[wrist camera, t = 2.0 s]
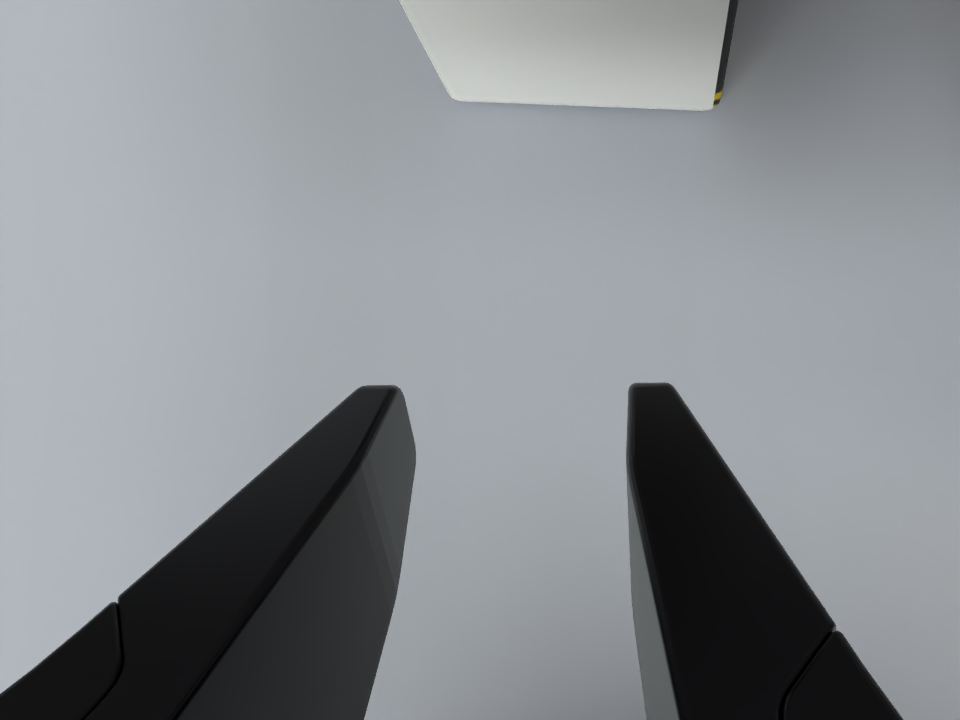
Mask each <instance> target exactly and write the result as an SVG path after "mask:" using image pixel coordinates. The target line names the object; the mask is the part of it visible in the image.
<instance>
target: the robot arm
mask: <svg viewBox="0 0 960 720" xmlns="http://www.w3.org/2000/svg"><path fill="white" fill-rule="evenodd" d="M415 465H416V449H415V442H414V437H413V433H412V429H411V424H410V420H409V416H408V411H407V407H406V402H405V398H404V395H403V393H402V391H401V389H400V388H398V387H397V386H395V385H367V386H362V387H360V388H358V389H357V390H355V391H354V392H353V393H352V394H351V395H350V396H348V397H347V398H346V399H345V400H344V401H343V402H342V403H340V404H339V405H338V406H337V407H336V408H335V409H334V410H332V411H331V412H330V413H329V414H328V415H327V416H325V417H324V418H323V419H322V420H321V421H320V422H319V423H317V424H316V425H315V426H314V427H313V428H312V429H310V430H309V431H308V432H307V433H306V434H305V435H304V436H302V437H301V438H300V439H299V440H298V441H297V442H296V443H294V444H293V445H292V446H291V447H290V448H289V449H287V450H286V451H285V452H284V453H283V454H282V455H281V456H279V457H278V458H277V459H276V460H275V461H274V462H273V463H271V464H270V465H269V466H268V467H267V468H266V469H264V470H263V471H262V472H261V473H260V474H259V475H258V476H256V477H255V478H254V479H253V480H252V481H251V482H250V483H248V484H247V485H246V486H245V487H244V488H243V489H241V490H240V491H239V492H238V493H237V494H236V495H235V496H233V497H232V498H231V499H230V500H229V501H228V502H226V503H225V504H224V505H223V506H222V507H221V508H220V509H218V510H217V511H216V512H215V513H214V514H213V515H212V516H210V517H209V518H208V519H207V520H206V521H205V522H203V523H202V524H201V525H200V526H199V527H198V528H197V529H195V530H194V531H193V532H192V533H191V534H190V535H189V536H187V537H186V538H185V539H184V540H183V541H182V542H180V543H179V544H178V545H177V546H176V547H175V548H174V549H172V550H171V551H170V552H169V553H168V554H167V555H166V556H164V557H163V558H162V559H161V560H160V561H159V562H157V563H156V564H155V565H154V566H153V567H152V568H151V569H149V570H148V571H147V572H146V573H145V574H144V575H142V576H141V577H140V578H139V579H138V580H137V581H136V582H134V583H133V584H132V585H131V586H130V587H129V588H128V589H126V590H125V591H124V592H123V593H122V594H121V595H120V596H119V597H118V603H116V602H112V603H110V604H109V605H108V606H106V607H105V608H104V609H103V610H102V611H101V612H100V613H98V614H97V615H96V616H95V617H94V618H93V619H91V620H90V621H89V622H88V623H87V624H86V625H85V626H83V627H82V628H81V629H80V630H79V631H78V632H76V633H75V634H74V635H73V636H72V637H70V638H69V639H68V640H67V641H66V642H64V643H63V644H62V645H61V646H60V647H58V648H57V649H56V650H55V651H54V652H52V653H51V654H50V655H49V656H48V657H46V658H45V659H44V660H43V661H42V662H40V663H39V664H38V665H37V666H36V667H34V668H33V669H32V670H31V671H29V672H28V673H27V674H26V675H24V676H23V677H22V678H20V679H19V680H18V681H16V682H15V683H14V684H13V685H11V686H10V687H9V688H7V689H6V690H5V691H4V692H2V693H1V694H0V720H364V717H365V713H366V710H367V706H368V702H369V698H370V695H371V691H372V687H373V684H374V680H375V676H376V672H377V669H378V665H379V661H380V657H381V654H382V650H383V646H384V643H385V639H386V635H387V631H388V628H389V624H390V620H391V616H392V612H393V608H394V604H395V600H396V595H397V590H398V584H399V578H400V572H401V565H402V558H403V551H404V543H405V536H406V529H407V522H408V515H409V508H410V501H411V494H412V487H413V480H414V473H415ZM626 466H627V492H628V517H629V542H630V568H631V593H632V608H633V618H634V627H635V634H636V642H637V650H638V657H639V665H640V672H641V680H642V688H643V695H644V703H645V710H646V718H647V720H903V719H902V717H901V716H900V714H899V713H898V712H897V710H896V709H895V708H894V706H893V705H892V703H891V702H890V701H889V699H888V698H887V697H886V695H885V694H884V692H883V691H882V690H881V688H880V687H879V686H878V684H877V683H876V681H875V680H874V679H873V677H872V676H871V675H870V673H869V672H868V671H867V669H866V668H865V666H864V665H863V663H862V662H861V660H860V659H859V657H858V656H857V654H856V653H855V652H854V650H853V649H852V647H851V646H850V644H849V643H848V641H847V640H846V638H845V637H844V635H843V634H842V633H841V632H839V631H836V625H835V623H834V621H833V620H832V618H831V617H830V616H829V614H828V613H827V611H826V610H825V608H824V607H823V605H822V604H821V602H820V601H819V599H818V598H817V596H816V595H815V593H814V592H813V591H812V589H811V588H810V586H809V585H808V583H807V582H806V580H805V579H804V577H803V576H802V574H801V573H800V571H799V570H798V568H797V567H796V566H795V564H794V563H793V561H792V560H791V558H790V557H789V555H788V554H787V552H786V551H785V549H784V548H783V546H782V545H781V543H780V542H779V541H778V539H777V538H776V536H775V535H774V533H773V532H772V530H771V529H770V527H769V526H768V524H767V523H766V521H765V520H764V519H763V517H762V516H761V514H760V513H759V511H758V510H757V508H756V507H755V505H754V504H753V502H752V501H751V499H750V498H749V496H748V495H747V494H746V492H745V491H744V489H743V488H742V486H741V485H740V483H739V482H738V480H737V479H736V477H735V476H734V474H733V473H732V471H731V470H730V469H729V467H728V466H727V464H726V463H725V461H724V460H723V458H722V457H721V455H720V454H719V452H718V451H717V449H716V448H715V446H714V445H713V444H712V442H711V441H710V439H709V438H708V436H707V435H706V433H705V432H704V430H703V429H702V427H701V426H700V424H699V423H698V421H697V420H696V419H695V417H694V416H693V414H692V413H691V411H690V410H689V408H688V407H687V405H686V404H685V402H684V401H683V399H682V398H681V396H680V395H679V394H678V392H677V391H676V389H675V388H674V387H673V386H672V385H671V384H669V383H634V384H632V385H631V386H630V387H629V391H628V417H627V446H626Z"/></svg>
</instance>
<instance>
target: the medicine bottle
mask: <svg viewBox="0 0 960 720" xmlns="http://www.w3.org/2000/svg"><path fill="white" fill-rule="evenodd" d="M399 2H400V4H401V6H402V8H403V9H404V11H405V13H406V15H407V17H408V19H409V21H410V23H411V24H412V26H413V28H414V30H415V32H416V34H417V36H418V38H419V40H420V41H421V43H422V45H423V47H424V49H425V51H426V53H427V55H428V56H429V58H430V60H431V62H432V64H433V66H434V68H435V70H436V72H437V73H438V75H439V77H440V79H441V81H442V83H443V85H444V87H445V88H446V90H447V92H448V94H449V95H450V96H451V97H452V98H453V99H455V100H458V101H463V102H489V103H514V104H539V105H565V106H590V107H616V108H641V109H666V110H692V111H707V110H711V109H713V108H714V107H715V106H716V105H717V104H719V101H720V99H721V96H722V90H723V84H724V79H725V73H726V67H727V62H728V56H729V50H730V45H731V39H732V33H733V27H734V22H735V16H736V10H737V5H738V0H399Z"/></svg>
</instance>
